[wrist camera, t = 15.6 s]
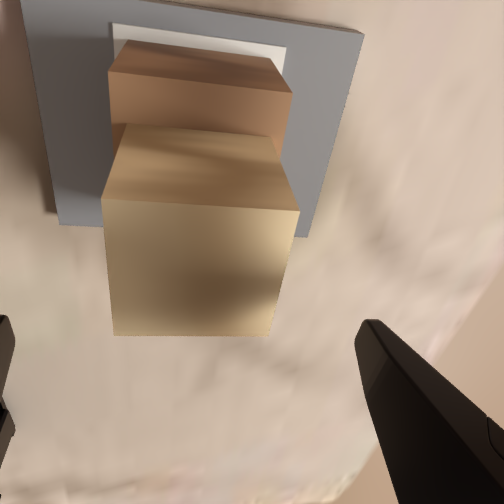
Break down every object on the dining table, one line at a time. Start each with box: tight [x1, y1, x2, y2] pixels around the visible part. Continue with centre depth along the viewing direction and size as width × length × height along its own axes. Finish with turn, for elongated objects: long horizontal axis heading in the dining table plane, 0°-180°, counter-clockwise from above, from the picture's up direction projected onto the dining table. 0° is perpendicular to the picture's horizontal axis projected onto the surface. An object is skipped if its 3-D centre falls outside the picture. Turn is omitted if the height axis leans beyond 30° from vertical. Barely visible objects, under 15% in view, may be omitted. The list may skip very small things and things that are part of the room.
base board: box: [20, 0, 364, 237], centre depth 20 cm, size 14×11×1 cm
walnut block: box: [108, 39, 293, 159], centre depth 17 cm, size 6×8×5 cm
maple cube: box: [101, 123, 300, 336], centre depth 13 cm, size 5×5×5 cm
